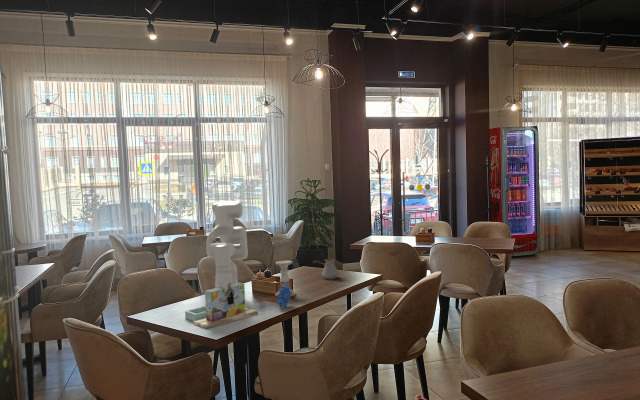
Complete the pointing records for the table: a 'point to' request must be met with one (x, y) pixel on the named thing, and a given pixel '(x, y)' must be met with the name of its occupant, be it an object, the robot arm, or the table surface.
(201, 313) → the bin
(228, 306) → the snack box
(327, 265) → the coffee pot
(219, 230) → the robot arm
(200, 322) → the board
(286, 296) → the grapes
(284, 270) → the candle holder
